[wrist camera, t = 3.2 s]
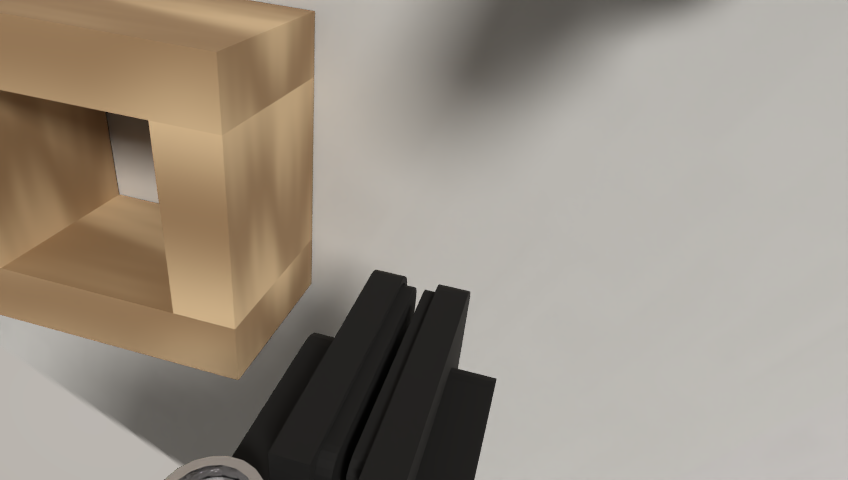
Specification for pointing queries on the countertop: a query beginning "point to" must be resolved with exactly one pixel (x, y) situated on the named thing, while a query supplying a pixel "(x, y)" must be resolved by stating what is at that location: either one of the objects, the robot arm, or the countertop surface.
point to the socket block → (157, 173)
